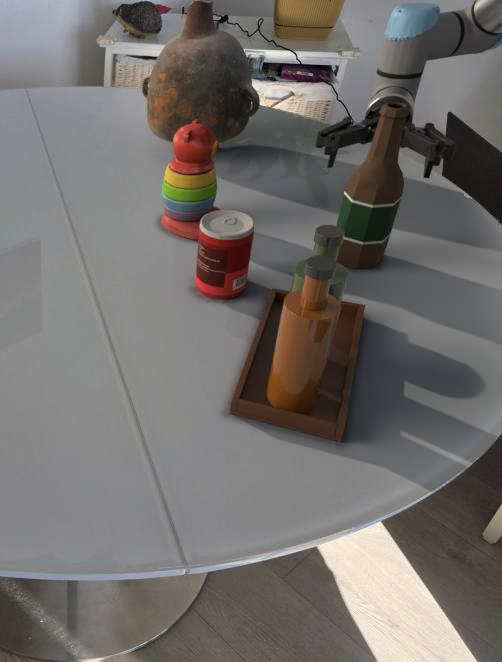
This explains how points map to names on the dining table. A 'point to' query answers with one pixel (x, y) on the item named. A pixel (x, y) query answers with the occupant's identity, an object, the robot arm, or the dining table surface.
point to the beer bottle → (373, 194)
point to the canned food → (223, 253)
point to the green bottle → (327, 245)
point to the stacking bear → (190, 180)
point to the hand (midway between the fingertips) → (378, 164)
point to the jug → (200, 80)
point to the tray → (335, 383)
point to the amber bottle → (304, 339)
